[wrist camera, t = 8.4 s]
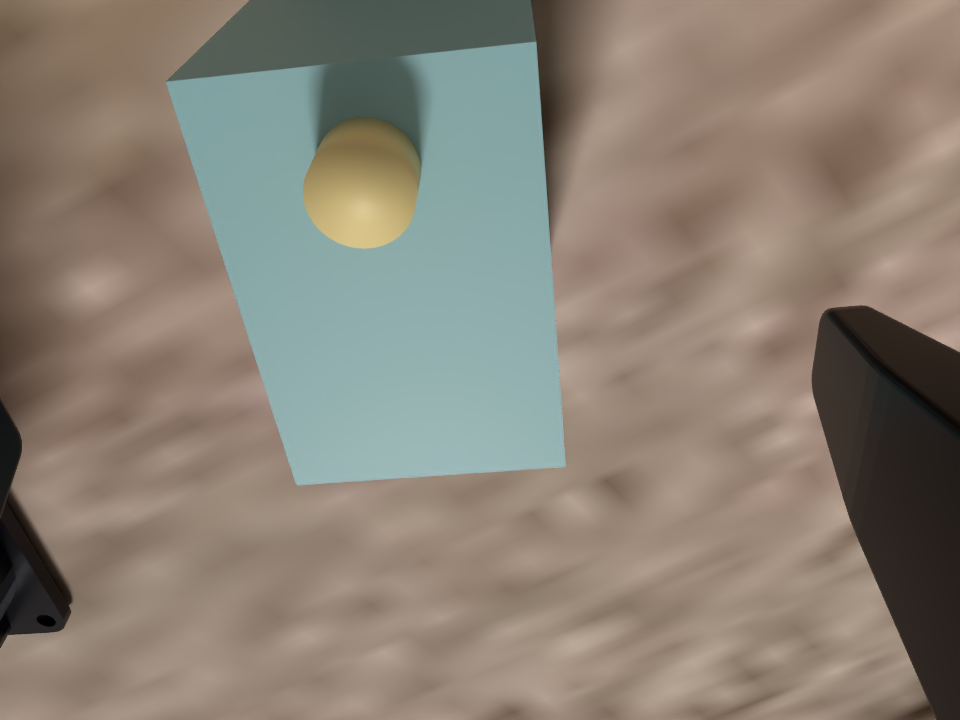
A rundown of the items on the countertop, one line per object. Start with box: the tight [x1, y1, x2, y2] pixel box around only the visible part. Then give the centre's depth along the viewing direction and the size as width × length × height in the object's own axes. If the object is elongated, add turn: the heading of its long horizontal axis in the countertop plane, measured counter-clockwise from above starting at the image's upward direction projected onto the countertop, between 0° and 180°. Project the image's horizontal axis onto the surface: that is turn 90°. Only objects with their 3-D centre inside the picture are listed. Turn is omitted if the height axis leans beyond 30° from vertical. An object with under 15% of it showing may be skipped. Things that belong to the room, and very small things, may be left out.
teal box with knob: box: [166, 0, 566, 485], centre depth 13 cm, size 6×4×7 cm, turn 6°
